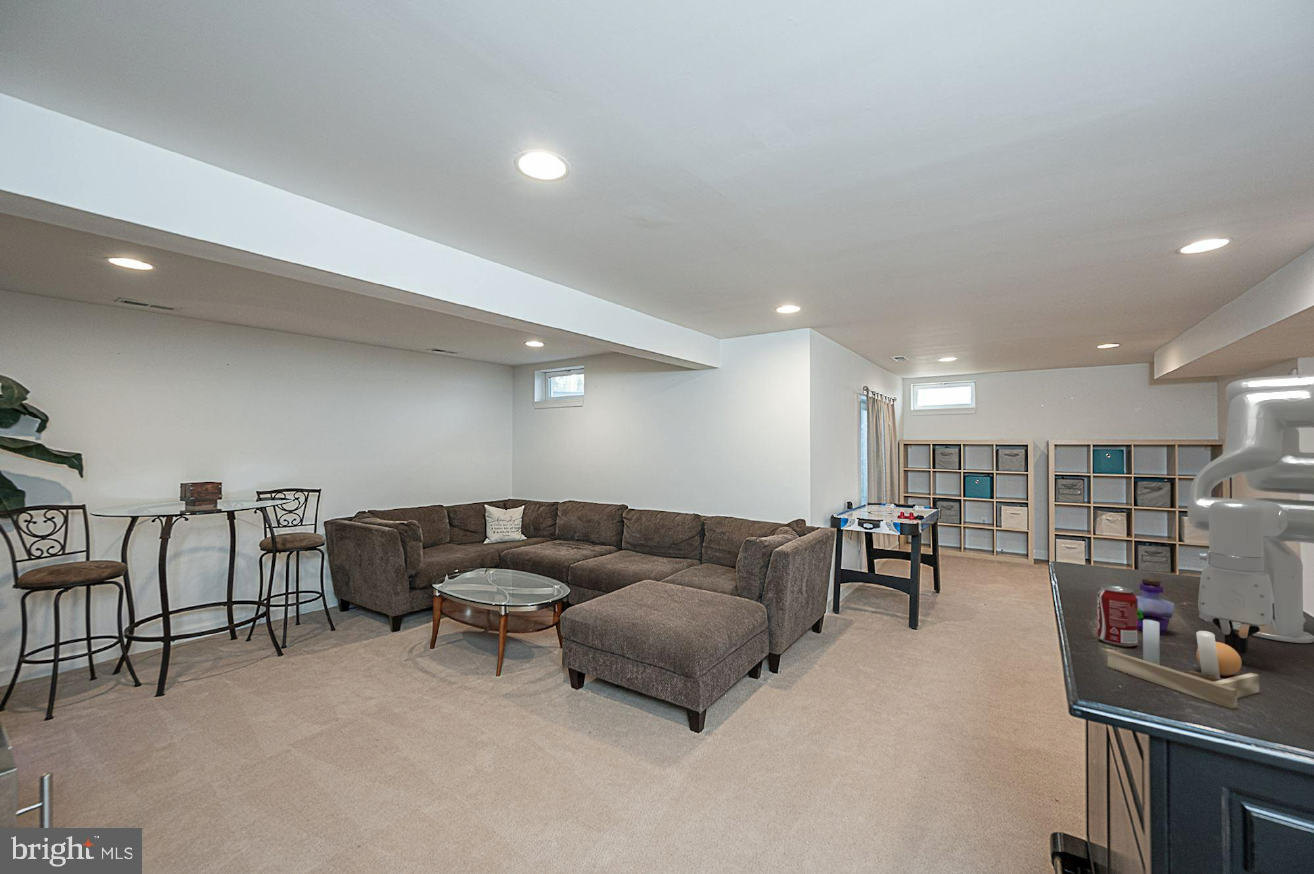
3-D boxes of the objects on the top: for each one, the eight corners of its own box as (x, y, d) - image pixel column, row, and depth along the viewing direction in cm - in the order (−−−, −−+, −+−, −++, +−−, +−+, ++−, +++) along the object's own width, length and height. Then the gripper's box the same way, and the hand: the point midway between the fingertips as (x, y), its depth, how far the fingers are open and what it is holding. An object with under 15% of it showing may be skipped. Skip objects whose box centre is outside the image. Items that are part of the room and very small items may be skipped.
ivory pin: (1206, 670, 102) (1200, 629, 101) (1223, 676, 100) (1217, 633, 99) (1198, 675, 102) (1193, 634, 101) (1215, 681, 99) (1210, 639, 98)
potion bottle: (1119, 627, 130) (1119, 576, 130) (1137, 622, 134) (1137, 573, 134) (1166, 638, 122) (1166, 585, 123) (1183, 633, 126) (1183, 581, 126)
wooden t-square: (1149, 658, 110) (1149, 643, 110) (1275, 696, 93) (1275, 679, 93) (1107, 666, 105) (1107, 651, 106) (1232, 708, 89) (1231, 690, 89)
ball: (1194, 672, 103) (1205, 671, 106) (1239, 678, 98) (1249, 677, 101) (1188, 639, 104) (1199, 639, 107) (1232, 643, 99) (1242, 643, 102)
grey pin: (1147, 661, 108) (1147, 618, 109) (1162, 666, 106) (1162, 622, 106) (1140, 663, 108) (1140, 620, 108) (1155, 667, 105) (1154, 623, 105)
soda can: (1145, 649, 115) (1145, 593, 115) (1109, 647, 116) (1108, 591, 117) (1125, 639, 122) (1124, 585, 122) (1090, 636, 123) (1090, 583, 123)
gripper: (1179, 558, 114) (1179, 646, 113) (1286, 572, 101) (1287, 672, 100) (1192, 555, 117) (1192, 640, 117) (1297, 568, 104) (1298, 664, 104)
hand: (1236, 654), depth 109 cm, fingers closed
